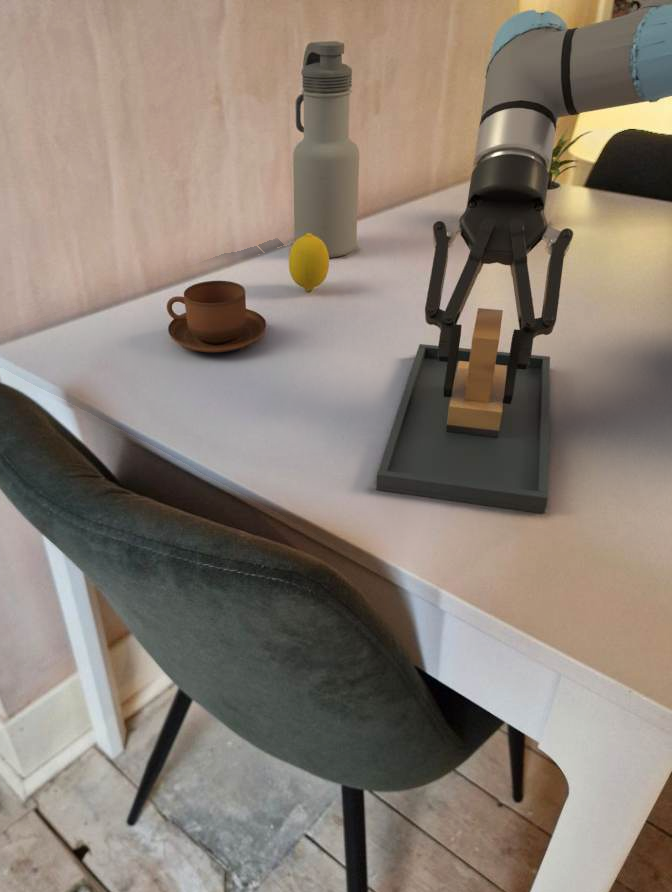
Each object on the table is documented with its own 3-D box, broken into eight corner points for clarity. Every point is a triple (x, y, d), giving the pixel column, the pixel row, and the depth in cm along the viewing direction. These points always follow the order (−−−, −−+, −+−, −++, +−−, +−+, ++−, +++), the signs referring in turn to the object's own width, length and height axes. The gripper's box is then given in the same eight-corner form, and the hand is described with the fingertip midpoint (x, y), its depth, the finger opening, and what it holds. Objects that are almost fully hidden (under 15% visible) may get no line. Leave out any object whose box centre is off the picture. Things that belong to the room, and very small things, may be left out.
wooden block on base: (455, 385, 83) (466, 301, 77) (502, 390, 82) (516, 305, 76) (445, 431, 75) (456, 342, 69) (497, 438, 74) (513, 347, 68)
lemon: (299, 281, 110) (298, 225, 105) (334, 287, 108) (336, 229, 103) (282, 295, 106) (281, 236, 101) (318, 301, 104) (319, 242, 99)
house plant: (464, 222, 130) (477, 116, 120) (511, 205, 137) (527, 104, 127) (537, 241, 121) (557, 129, 111) (583, 222, 129) (606, 115, 119)
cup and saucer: (171, 365, 89) (165, 315, 85) (168, 324, 99) (162, 277, 95) (273, 356, 90) (271, 306, 87) (260, 316, 100) (258, 270, 96)
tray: (418, 357, 90) (419, 343, 89) (547, 370, 86) (550, 356, 85) (375, 489, 68) (376, 474, 67) (544, 513, 65) (547, 497, 64)
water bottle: (285, 242, 124) (281, 41, 107) (341, 235, 126) (345, 36, 109) (306, 262, 116) (304, 48, 99) (365, 254, 118) (374, 44, 101)
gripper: (598, 197, 78) (568, 417, 75) (421, 189, 82) (387, 397, 79) (613, 153, 70) (582, 395, 68) (418, 146, 74) (381, 374, 72)
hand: (477, 395), depth 73 cm, fingers closed on wooden block on base, 5 cm apart
